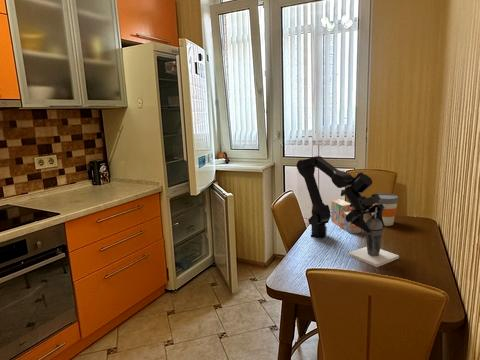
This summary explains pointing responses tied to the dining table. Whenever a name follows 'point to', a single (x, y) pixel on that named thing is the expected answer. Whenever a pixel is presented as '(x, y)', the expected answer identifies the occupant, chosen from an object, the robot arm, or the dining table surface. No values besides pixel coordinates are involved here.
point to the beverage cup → (374, 235)
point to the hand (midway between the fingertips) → (376, 230)
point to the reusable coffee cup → (388, 207)
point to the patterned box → (342, 215)
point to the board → (373, 257)
